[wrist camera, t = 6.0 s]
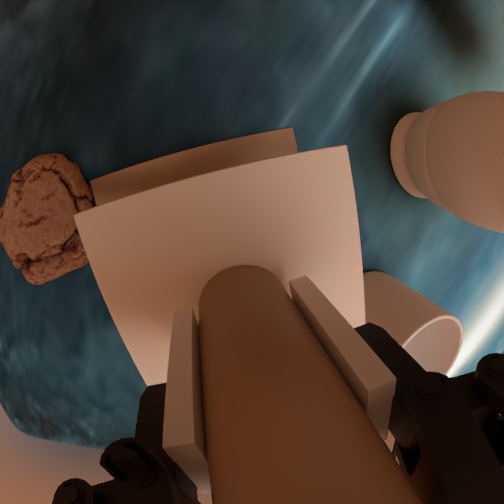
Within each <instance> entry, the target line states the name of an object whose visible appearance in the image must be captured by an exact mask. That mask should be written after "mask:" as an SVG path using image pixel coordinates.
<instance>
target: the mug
mask: <svg viewBox="0 0 504 504" xmlns="http://www.w3.org/2000/svg"><path fill="white" fill-rule="evenodd" d="M363 281H364V299H365V324H366V323H369V322H371V323H373V324H375V325H378V326H380V327H382V328H384V329H385V330H386V331H387V332H388V333H389V334H390V335H391V337H392V338H394V339H395V340H396V341H397V342H398V344H399V345H401V346H402V347H403V348H404V349H405V350H406V351H407V352H408V353H409V354H410V355H411V356H412V357H413V358H414V359H415V360H416V361H417V362H418V363H419V364H420V365H421V366H422V368H423V369H424V370H426V371H427V372H429V371H431V372H439V373H441V374H444V375H446V374H447V373H448V372H449V370H450V369H451V367H452V366H453V364H454V362H455V360H456V358H457V356H458V354H459V351H460V348H461V344H462V339H463V330H462V325H461V323H460V321H459V320H458V319H457V318H456V317H455V316H453V315H452V314H450V313H449V312H447V311H446V310H444V309H443V308H441V307H440V306H438V305H437V304H435V303H433V302H432V301H430V300H429V299H427V298H426V297H424V296H423V295H421V294H420V293H418V292H416V291H415V290H413V289H412V288H410V287H409V286H407V285H405V284H404V283H402V282H401V281H399V280H397V279H396V278H394V277H392V276H390V275H388V274H386V273H383V272H379V271H371V272H366V273H363Z"/></svg>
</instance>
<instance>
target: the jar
mask: <svg viewBox="0 0 504 504" xmlns="http://www.w3.org/2000/svg"><path fill="white" fill-rule="evenodd" d="M390 154H391V162H392V166H393V170H394V173H395V175H396V177H397V179H398V181H399V183H400V184H401V186H402V187H403V188H404V189H405V190H406V191H407V192H408V193H409V194H411V195H413V196H415V197H418V198H427V199H429V200H430V201H431V202H432V203H434V204H435V205H437V206H439V207H440V208H442V209H444V210H446V211H449V212H451V213H453V214H455V215H456V216H458V217H460V218H461V219H463V220H465V221H467V222H469V223H472V224H474V225H477V226H479V227H482V228H485V229H489V230H493V231H497V232H503V233H504V92H493V91H483V92H473V93H468V94H464V95H460V96H457V97H454V98H452V99H450V100H448V101H445V102H442V103H439V104H436V105H434V106H432V107H430V108H428V109H426V110H425V111H423V112H422V113H420V112H413V113H409V114H407V115H405V116H404V117H402V118H401V119H400V120H399V122H398V123H397V125H396V126H395V128H394V131H393V134H392V138H391V145H390Z"/></svg>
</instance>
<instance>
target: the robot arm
mask: <svg viewBox="0 0 504 504" xmlns="http://www.w3.org/2000/svg"><path fill="white" fill-rule="evenodd" d="M289 285H290V290H291V296H292V300H293V302H294V303H295V305H296V306H297V308H298V309H299V311H300V312H301V314H302V316H303V317H304V319H305V320H306V322H307V323H308V325H309V326H310V328H311V329H312V331H313V332H314V334H315V335H316V337H317V338H318V340H319V341H320V343H321V345H322V346H323V348H324V349H325V351H326V352H327V354H328V355H329V357H330V358H331V360H332V361H333V363H334V364H335V366H336V368H337V369H338V371H339V372H340V374H341V375H342V377H343V378H344V380H345V381H346V383H347V384H348V386H349V388H350V389H351V391H352V392H353V394H354V395H355V397H356V398H357V400H358V401H359V403H360V404H361V406H362V408H363V409H364V411H365V412H366V414H367V415H368V417H369V418H370V420H371V422H372V423H373V425H374V426H375V428H376V429H377V431H378V432H379V434H380V436H381V437H382V439H383V440H386V439H387V436H388V431H389V430H390V431H391V433H392V435H393V436H394V438H395V443H394V447H393V450H392V454H393V456H394V457H395V459H396V456H397V458H398V461H399V464H400V467H401V468H402V470H403V471H404V473H405V475H406V476H407V478H408V479H409V481H410V482H411V484H412V486H413V487H414V489H415V490H416V492H417V493H418V495H419V497H420V498H421V500H422V501H423V503H424V504H504V354H499V353H493V354H488V355H486V356H484V357H482V358H481V360H480V361H479V362H478V365H477V368H476V371H474V372H471V373H467V374H464V375H461V376H457V377H452V378H448V377H447V376H446V375H444V374H441V373H439V372H431V371H429V372H427V371H426V370H424V369H423V368H422V366H421V365H420V364H419V363H418V362H417V361H416V360H415V359H414V358H413V357H412V356H411V355H410V354H409V353H408V352H407V351H406V350H405V349H404V348H403V347H402V346H401V345H399V344H398V342H397V341H396V340H395V339H394V338H392V337H391V335H390V334H389V333H388V332H387V331H386V330H385V329H384V328H382V327H380V326H378V325H375V324H373V323H371V322H369V323H366V324H364V325H361V326H359V327H356V328H353V327H352V326H351V325H350V324H349V323H348V321H347V320H346V319H345V318H344V317H343V316H342V315H341V314H340V312H339V311H338V310H337V309H336V308H335V307H334V306H333V304H332V303H331V302H330V301H329V300H328V299H327V298H326V297H325V295H324V294H323V293H322V292H321V291H320V290H319V289H318V288H317V287H316V285H315V284H314V283H313V282H312V281H311V280H310V279H309V278H308V277H307V275H306V276H302V277H299V278H296V279H292V280H289ZM499 414H500V415H501V416H500V415H499ZM137 420H138V422H137V424H136V431H135V438H122V439H120V440H117V441H115V442H113V443H112V444H110V445H109V446H108V447H107V448H106V449H105V450H104V452H103V454H102V455H101V459H100V465H101V466H102V467H103V468H104V469H106V470H107V472H109V474H110V475H112V476H113V477H114V478H115V479H113V480H111V481H107V482H104V483H100V484H97V485H94V486H91V485H90V484H88V483H87V482H86V481H85V480H82V479H79V478H74V479H69V480H66V481H64V482H63V483H62V484H61V485H60V486H59V487H58V488H57V490H56V492H55V495H54V499H53V502H52V504H201V503H200V502H199V501H198V498H197V489H198V490H199V491H200V492H201V493H202V494H203V495H205V494H211V486H210V478H209V468H208V459H207V448H206V437H205V425H204V412H203V398H202V382H201V364H200V341H199V325H198V322H197V319H196V316H195V314H194V311H193V308H192V307H190V308H186V309H182V310H178V311H174V316H173V324H172V332H171V341H170V351H169V361H168V371H167V382H166V383H161V384H155V385H150V386H148V387H147V388H146V390H145V391H144V393H143V394H142V396H141V398H140V404H139V412H138V417H137Z"/></svg>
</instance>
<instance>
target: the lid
mask: <svg viewBox="0 0 504 504" xmlns="http://www.w3.org/2000/svg"><path fill="white" fill-rule="evenodd" d="M73 216H74V219H75V222H76V225H77V228H78V231H79V234H80V237H81V240H82V243H83V246H84V249H85V252H86V255H87V257H88V260H89V263H90V265H91V268H92V271H93V273H94V276H95V278H96V281H97V283H98V286H99V288H100V291H101V293H102V296H103V298H104V300H105V303H106V305H107V307H108V309H109V312H110V314H111V316H112V318H113V320H114V323H115V325H116V327H117V329H118V331H119V333H120V335H121V337H122V339H123V341H124V343H125V345H126V347H127V349H128V351H129V353H130V355H131V357H132V359H133V361H134V363H135V365H136V366H137V368H138V370H139V372H140V374H141V376H142V377H143V379H144V381H145V383H146V384H147V386H150V385H155V384H161V383H166V382H167V371H168V361H169V351H170V341H171V332H172V324H173V316H174V311H178V310H182V309H186V308H190V307H192V308H193V311H194V314H195V316H196V319H197V322H198V325H199V341H200V364H201V382H202V398H203V412H204V425H205V437H206V448H207V459H208V468H209V478H210V486H211V494H212V503H213V504H424V503H423V501H422V500H421V498H420V497H419V495H418V493H417V492H416V490H415V489H414V487H413V486H412V484H411V482H410V481H409V479H408V478H407V476H406V475H405V473H404V471H403V470H402V468H401V467H400V465H399V464H398V462H397V460H396V459H395V457H394V456H393V454H392V453H391V451H390V450H389V448H388V447H387V445H386V443H385V442H384V440H383V439H382V437H381V436H380V434H379V432H378V431H377V429H376V428H375V426H374V425H373V423H372V422H371V420H370V418H369V417H368V415H367V414H366V412H365V411H364V409H363V408H362V406H361V404H360V403H359V401H358V400H357V398H356V397H355V395H354V394H353V392H352V391H351V389H350V388H349V386H348V384H347V383H346V381H345V380H344V378H343V377H342V375H341V374H340V372H339V371H338V369H337V368H336V366H335V364H334V363H333V361H332V360H331V358H330V357H329V355H328V354H327V352H326V351H325V349H324V348H323V346H322V345H321V343H320V341H319V340H318V338H317V337H316V335H315V334H314V332H313V331H312V329H311V328H310V326H309V325H308V323H307V322H306V320H305V319H304V317H303V316H302V314H301V312H300V311H299V309H298V308H297V306H296V305H295V303H294V302H293V300H292V296H291V290H290V285H289V280H292V279H296V278H299V277H302V276H306V275H307V277H308V278H309V279H310V280H311V281H312V282H313V283H314V284H315V285H316V287H317V288H318V289H319V290H320V291H321V292H322V293H323V294H324V295H325V297H326V298H327V299H328V300H329V301H330V302H331V303H332V304H333V306H334V307H335V308H336V309H337V310H338V311H339V312H340V314H341V315H342V316H343V317H344V318H345V319H346V320H347V321H348V323H349V324H350V325H351V326H352V327H353V328H356V327H359V326H361V325H364V324H365V299H364V281H363V267H362V255H361V244H360V234H359V225H358V216H357V208H356V201H355V194H354V187H353V180H352V174H351V167H350V161H349V156H348V150H347V145H339V146H333V147H327V148H321V149H315V150H309V151H304V152H298V153H293V154H288V155H283V156H278V157H273V158H268V159H264V160H259V161H254V162H250V163H245V164H241V165H237V166H233V167H228V168H224V169H220V170H216V171H212V172H208V173H204V174H201V175H197V176H193V177H189V178H186V179H182V180H178V181H175V182H171V183H168V184H164V185H161V186H158V187H154V188H151V189H148V190H144V191H141V192H138V193H135V194H132V195H129V196H125V197H122V198H119V199H116V200H113V201H110V202H107V203H104V204H102V205H99V206H96V207H93V208H90V209H87V210H85V211H82V212H79V213H77V214H75V215H73Z"/></svg>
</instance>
